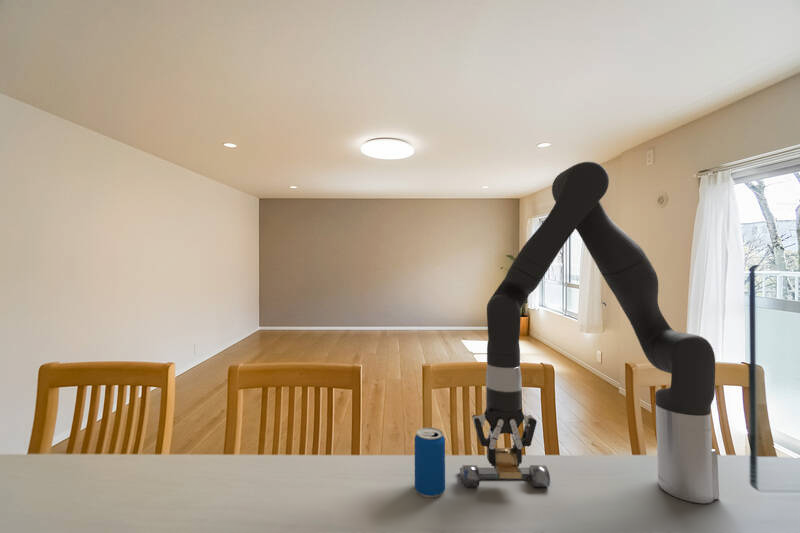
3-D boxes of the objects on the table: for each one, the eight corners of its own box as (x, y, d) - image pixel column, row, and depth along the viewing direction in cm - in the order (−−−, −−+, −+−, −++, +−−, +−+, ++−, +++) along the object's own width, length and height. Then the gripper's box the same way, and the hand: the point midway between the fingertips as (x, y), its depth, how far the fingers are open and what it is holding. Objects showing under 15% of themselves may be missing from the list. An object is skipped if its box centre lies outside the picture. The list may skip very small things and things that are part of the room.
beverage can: (444, 501, 71) (443, 440, 72) (412, 497, 72) (412, 437, 73) (446, 483, 77) (446, 427, 78) (417, 480, 79) (417, 425, 79)
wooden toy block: (511, 463, 79) (511, 444, 79) (521, 478, 73) (521, 458, 73) (491, 462, 79) (491, 444, 79) (499, 478, 73) (499, 458, 73)
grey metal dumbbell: (537, 473, 82) (537, 455, 82) (550, 490, 75) (549, 471, 75) (459, 472, 82) (459, 455, 82) (465, 490, 75) (465, 471, 75)
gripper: (474, 390, 74) (475, 473, 73) (542, 390, 74) (544, 474, 73) (467, 380, 82) (468, 456, 81) (529, 380, 82) (530, 456, 81)
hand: (504, 464), depth 77 cm, fingers closed on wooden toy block, 4 cm apart
